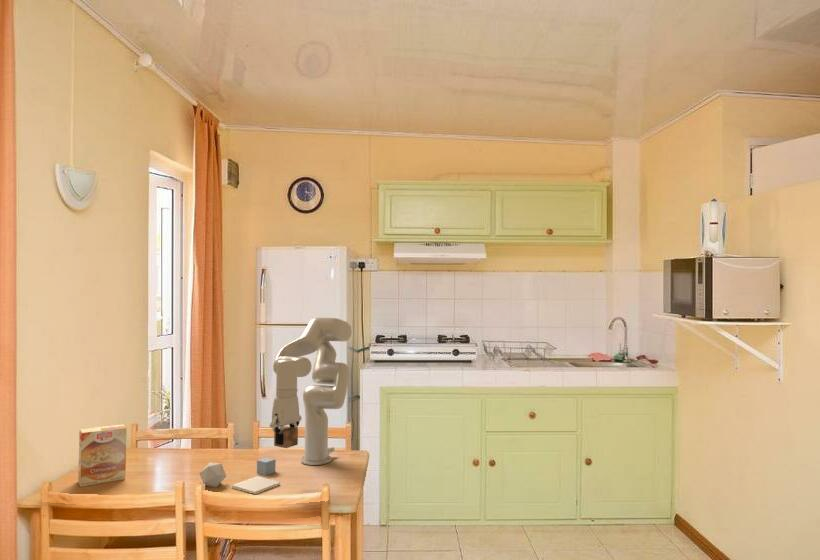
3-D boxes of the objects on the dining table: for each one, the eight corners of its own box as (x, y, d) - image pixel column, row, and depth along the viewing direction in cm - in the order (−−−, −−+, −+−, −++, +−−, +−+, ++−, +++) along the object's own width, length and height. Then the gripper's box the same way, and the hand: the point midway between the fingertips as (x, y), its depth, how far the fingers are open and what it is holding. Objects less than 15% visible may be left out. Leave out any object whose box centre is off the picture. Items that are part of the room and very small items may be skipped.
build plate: (257, 478, 212) (257, 476, 212) (280, 484, 205) (280, 482, 205) (231, 487, 202) (231, 485, 202) (254, 494, 195) (254, 491, 195)
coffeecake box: (79, 487, 201) (81, 432, 202) (77, 481, 207) (78, 428, 208) (126, 479, 210) (127, 427, 211) (122, 474, 216) (123, 423, 216)
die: (230, 484, 207) (223, 460, 212) (224, 480, 200) (217, 454, 204) (208, 494, 205) (201, 469, 210) (201, 489, 198) (195, 464, 202)
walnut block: (285, 442, 210) (286, 426, 210) (297, 444, 207) (297, 428, 207) (274, 445, 205) (274, 429, 205) (286, 448, 202) (286, 431, 202)
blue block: (266, 469, 223) (266, 457, 223) (275, 472, 220) (275, 459, 220) (256, 473, 219) (256, 460, 219) (265, 475, 216) (265, 462, 216)
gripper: (295, 389, 216) (294, 436, 215) (261, 395, 201) (261, 446, 201) (310, 390, 212) (309, 438, 211) (277, 397, 197) (276, 449, 197)
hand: (285, 441), depth 206 cm, fingers closed on walnut block, 6 cm apart
